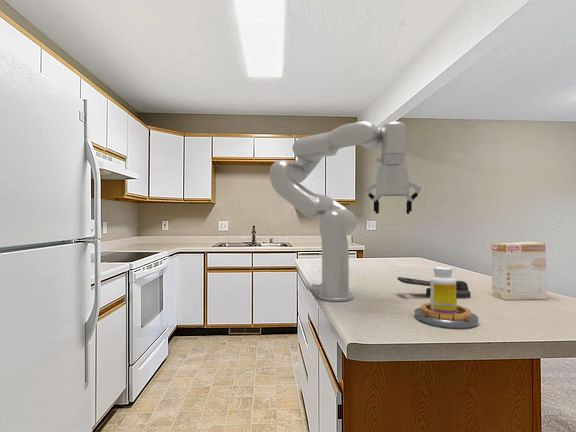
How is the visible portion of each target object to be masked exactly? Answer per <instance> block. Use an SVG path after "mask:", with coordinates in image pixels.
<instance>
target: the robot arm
mask: <svg viewBox="0 0 576 432" xmlns="http://www.w3.org/2000/svg"><path fill="white" fill-rule="evenodd" d="M406 134H407V133H406V125H405V123H404V122H401V121H389V122H386V123H384V124H383V125H382V126H381V127H379V126H377V125H375V124H373V123H372V122H369V121H363V120H362V121H356V122H351V123H345V124H343V125H340V126H338V127H336V128H334V129H333V130H331V131H328V132H322V133H318V134H312V135H306V136H302V137H300V138H297V139H296V140H295V141H294V142H293V144H292V152H293V154H294V156H295V157H296V158H297V160H296V161H295V162H294V161H291V160H288V159H287V160H286V159H280V160H276V161H275V162H274V163H272V165H271V166H270V169H269V180H270V181H269V182H270V185H271V187H272V188H273V190H274V191H275V192H276V194H278V196H280V197H281V198H283V200H285V201H286V202H288V203H289V204H290V205H291V206H292V207H294V208H295V209H297V211H299V212H300V213H302V214H303V215H304V216H305V217H307V218H308V219H311V220H319V225H318V226H319V227H318V228H319V234H320V240H321V283H320V284H315V283H312V284H311V285H310V286H311V290H312V291H318V293H317V297H318V298H319V300H320V299H321V300H323V301H326V302H327V301H329V302H346V301H351V300H354V294H353V292H350V285H349V284H350V275H349V274H350V269H349V267H350V266H349V264H350V262H349V260H350V259H349V257H350V256H349V255H350V254H349V253H350V252H349V241H348V235H349V234H352V233H353V232H354V231H355V230H356V228H357V223H358V221H357V217H356V216H355V214H354V213H353V212H352V211H351V210H349V209H348V208H346V207H345V206H344V205H342V204H341V203H339V202H338V201H337V200H335V199H333V198H331V196H328V195H324V194H318V193H315V192H313V191H311V190H309V188H307V187H305V186H304V185H303V184H301V183H303V182H304V181H305V180H306V179H307V178H308V177H309V175H310V174H311V173H312V172H313V170H315V168H316V167H317V166H318V164H319V163H320V162H321V160H322V159H323V158H325V157H332V156H335V155H336V154H337V153H338V152H339V150H341V149H343V148H347V147H353V146H362V147H364V148H366V149H368V150H371V151H372V150H373V151H374V150H378V149H380V157H379V158H376V163H377V164H380V165H378V167H377V172H376V181H375V183H374V184H372V185H370V186H368V187H366V188H365V192H366V194H367V195H368V197H369V198H370V199H371V200H372V201H373V211H374V212H375V214H377V215H378V214H380V201H379V199H380V198H381V197H401V196H404V197H405V198H406V199H407V201H406V214H407V215H410V212H413V210H412V209H413V208H412V207H413V206H412V205H413V201H414V200H415V199H416V198H417V197H418V196H419V194H420V192H421V191H422V187H421V186H419V185H417V184H414V183H412V182H410V176H409V175H410V174H409V166H408V164H406V139H407V137H406ZM410 188H412V189H414V190H415V191H414V192H413V194H412V195H410ZM373 190H375V193H376V195H374V194H373V192H372V191H373Z"/></svg>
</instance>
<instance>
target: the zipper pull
mask: <svg viewBox="0 0 576 432" xmlns="http://www.w3.org/2000/svg"><path fill="white" fill-rule="evenodd" d="M397 280H398V281H399V282H400V283H403V284H406V285H407V284H409V285H415V286H423V287H424V286H425V287H427V288H426V289H425V296H427V297H429V298H430V280H423V279H416V278H409V277H402V276H398V277H397ZM468 286H469V285H468V283H467V282H466V281H463V280H456V298H457V299H465V300H466V299H471V291H470V290H469V287H468Z"/></svg>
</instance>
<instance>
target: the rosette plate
mask: <svg viewBox="0 0 576 432" xmlns="http://www.w3.org/2000/svg"><path fill="white" fill-rule="evenodd" d="M414 319H416V320H417V321H418V322H420V323H422V324H425V325H427V326H428V325H429V326H432V327H435V328H436V327H437V328H441V329H442V328H443V329H448V330H449V329H452V330H469V329H473V328H476V327H479V316H478V315H477V314H475V313H473V312H471V309H469V308H467V307H465V306H462V305H458V304H457V314H446V313H439V312H434V311H431V302H428V303H427V302H426V303H423V304H421V305H420V307H417V308H416V309H414Z"/></svg>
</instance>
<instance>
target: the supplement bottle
mask: <svg viewBox="0 0 576 432" xmlns="http://www.w3.org/2000/svg"><path fill="white" fill-rule="evenodd" d="M433 273H434V275H433V276H431V277H430V280H429V281H430V286H429V288H430V297H429V298H430V301H429V302H430V303H431V311H434V312H439V313H446V314H457V305H458V304H457V299H458V298H456V281H457V279H455V278H454V277H453V276H452V274H453V268H452V267H448V266H435V267H433Z"/></svg>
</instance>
